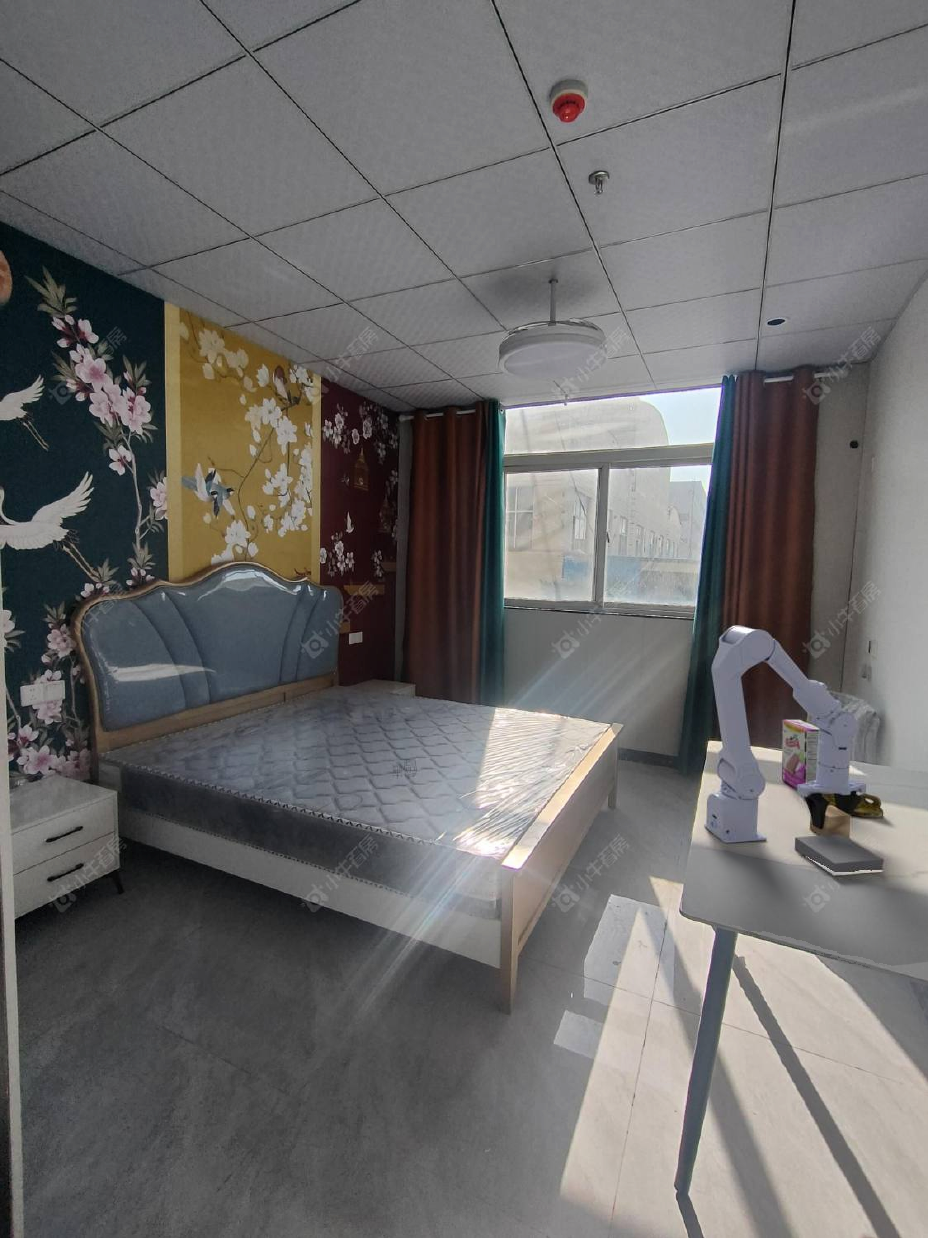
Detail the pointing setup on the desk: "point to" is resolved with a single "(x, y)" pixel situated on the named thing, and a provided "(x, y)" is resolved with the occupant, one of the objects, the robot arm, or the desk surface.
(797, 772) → the candy bar box
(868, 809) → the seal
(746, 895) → the desk surface
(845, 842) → the charcoal plinth
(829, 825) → the oak cube
